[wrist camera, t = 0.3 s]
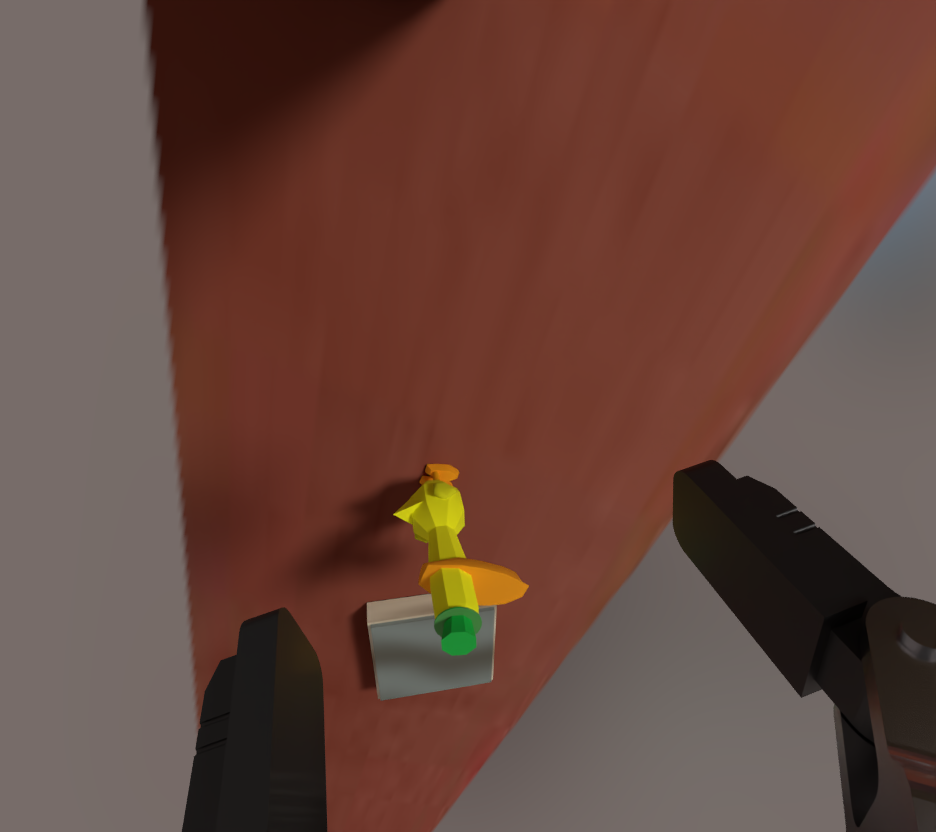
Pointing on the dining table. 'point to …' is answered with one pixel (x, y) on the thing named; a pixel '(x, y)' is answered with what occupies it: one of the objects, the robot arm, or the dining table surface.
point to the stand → (423, 649)
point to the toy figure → (454, 562)
